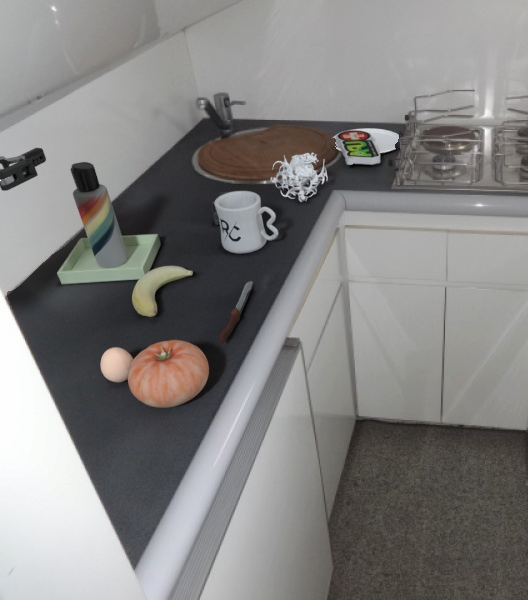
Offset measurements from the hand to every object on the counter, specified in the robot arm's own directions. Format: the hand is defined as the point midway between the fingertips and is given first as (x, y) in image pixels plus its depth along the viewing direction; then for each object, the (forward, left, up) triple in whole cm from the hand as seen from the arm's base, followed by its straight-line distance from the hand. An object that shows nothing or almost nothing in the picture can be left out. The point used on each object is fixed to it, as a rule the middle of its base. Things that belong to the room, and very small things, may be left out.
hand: (19, 151), depth 90 cm
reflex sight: (+23, +29, -27) cm, 46 cm away
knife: (+30, -10, -27) cm, 42 cm away
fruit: (+16, -3, -27) cm, 32 cm away
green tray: (+4, +10, -27) cm, 29 cm away
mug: (+30, +14, -27) cm, 43 cm away
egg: (+15, -24, -27) cm, 39 cm away
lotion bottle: (+4, +10, -27) cm, 29 cm away
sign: (+60, +61, -24) cm, 89 cm away
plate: (+58, +69, -27) cm, 94 cm away
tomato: (+23, -28, -27) cm, 46 cm away
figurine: (+39, +39, -16) cm, 58 cm away
